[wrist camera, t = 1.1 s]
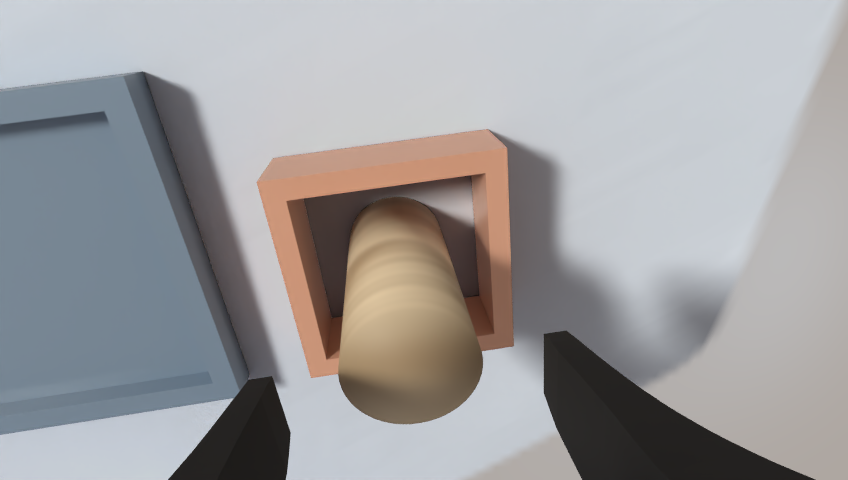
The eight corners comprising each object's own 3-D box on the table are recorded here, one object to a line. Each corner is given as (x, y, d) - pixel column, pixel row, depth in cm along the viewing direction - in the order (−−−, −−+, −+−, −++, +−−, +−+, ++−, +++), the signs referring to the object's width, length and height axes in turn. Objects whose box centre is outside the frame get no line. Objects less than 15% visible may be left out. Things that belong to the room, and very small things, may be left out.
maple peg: (445, 272, 22) (486, 412, 14) (358, 285, 21) (352, 434, 14) (436, 190, 20) (478, 298, 12) (342, 204, 20) (325, 322, 12)
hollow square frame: (496, 307, 23) (513, 346, 20) (318, 334, 22) (310, 378, 20) (487, 129, 19) (507, 147, 16) (273, 158, 19) (256, 182, 16)
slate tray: (249, 374, 23) (241, 396, 22) (-50, 420, 22) (-77, 446, 21) (142, 71, 17) (123, 76, 15) (-273, 123, 16) (-331, 132, 15)
